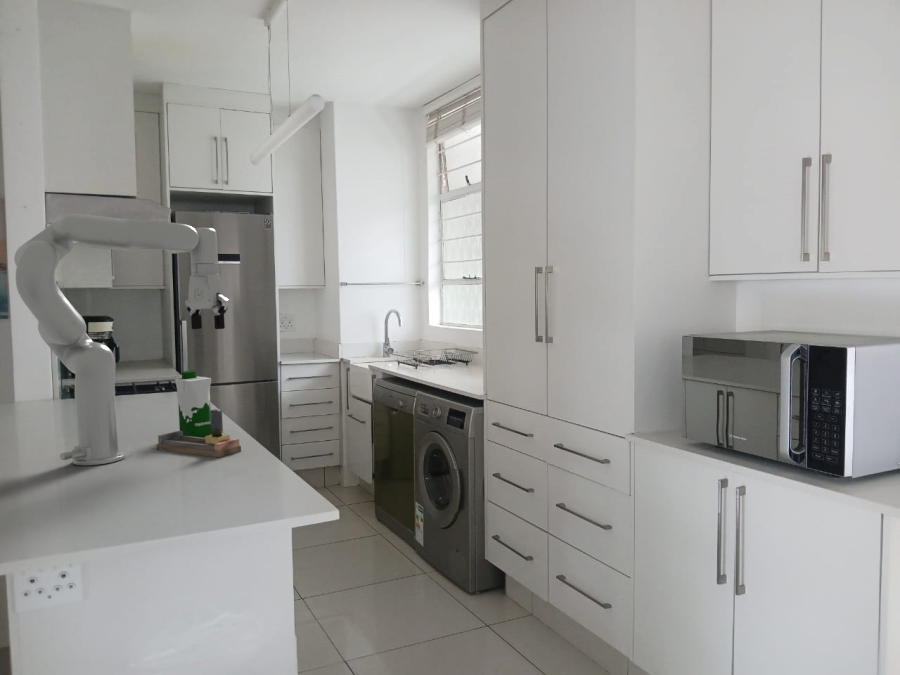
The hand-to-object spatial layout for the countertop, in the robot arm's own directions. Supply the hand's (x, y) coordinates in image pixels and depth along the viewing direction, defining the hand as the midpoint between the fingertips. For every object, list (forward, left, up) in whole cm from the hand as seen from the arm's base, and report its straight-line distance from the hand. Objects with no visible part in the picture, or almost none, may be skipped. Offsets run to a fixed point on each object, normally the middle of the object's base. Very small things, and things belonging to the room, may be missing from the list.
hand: (208, 328), depth 204 cm
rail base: (-11, -6, -33) cm, 36 cm away
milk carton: (+2, +10, -34) cm, 35 cm away
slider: (-11, -14, -31) cm, 36 cm away
